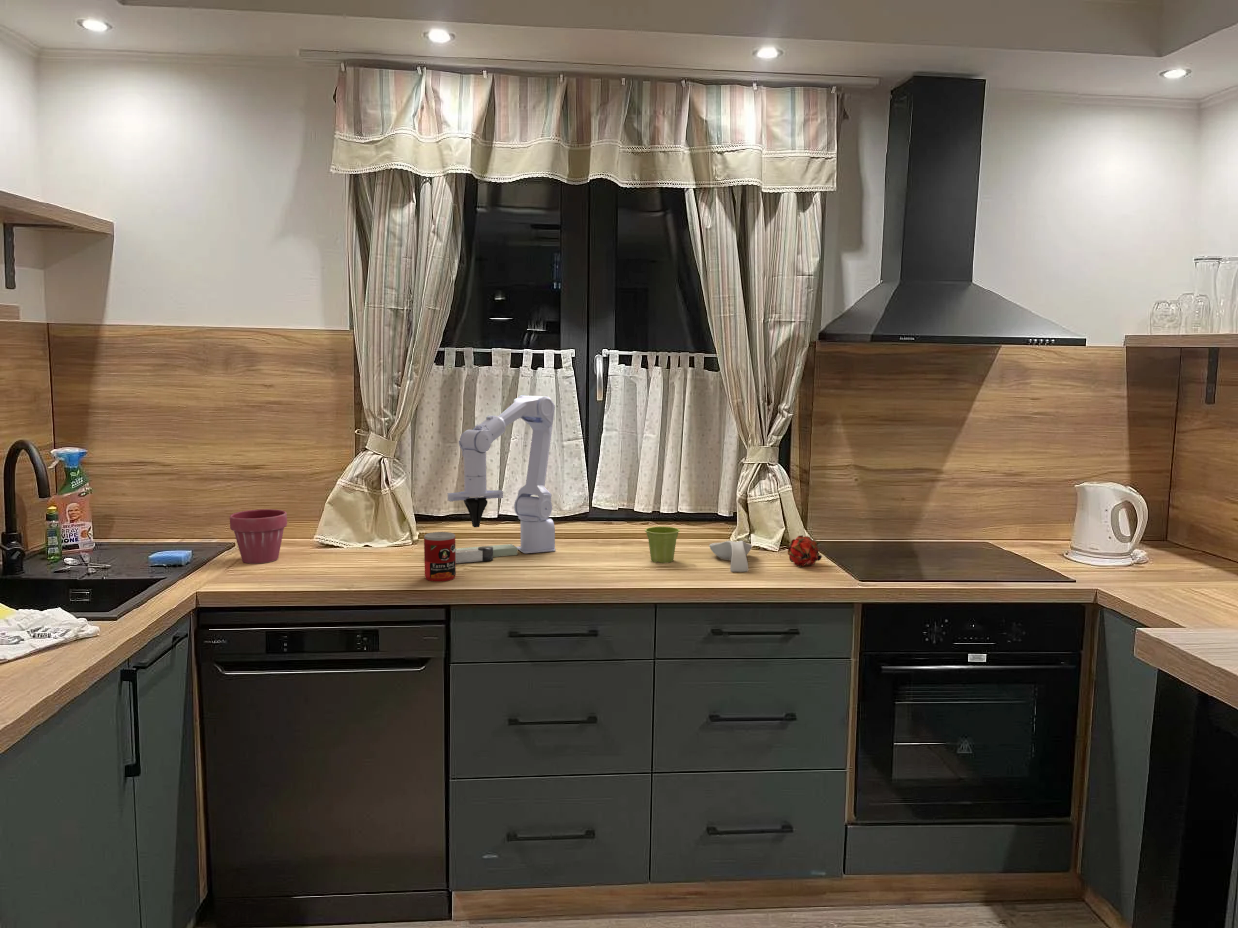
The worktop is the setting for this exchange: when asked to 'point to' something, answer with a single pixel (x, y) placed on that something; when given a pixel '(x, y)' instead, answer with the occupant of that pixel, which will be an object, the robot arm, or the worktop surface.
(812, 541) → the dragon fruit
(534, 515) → the robot arm
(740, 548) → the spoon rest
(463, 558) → the latch bar
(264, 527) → the plant pot
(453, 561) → the canned food
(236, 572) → the worktop surface
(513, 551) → the pale green flat bar
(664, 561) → the plant pot
